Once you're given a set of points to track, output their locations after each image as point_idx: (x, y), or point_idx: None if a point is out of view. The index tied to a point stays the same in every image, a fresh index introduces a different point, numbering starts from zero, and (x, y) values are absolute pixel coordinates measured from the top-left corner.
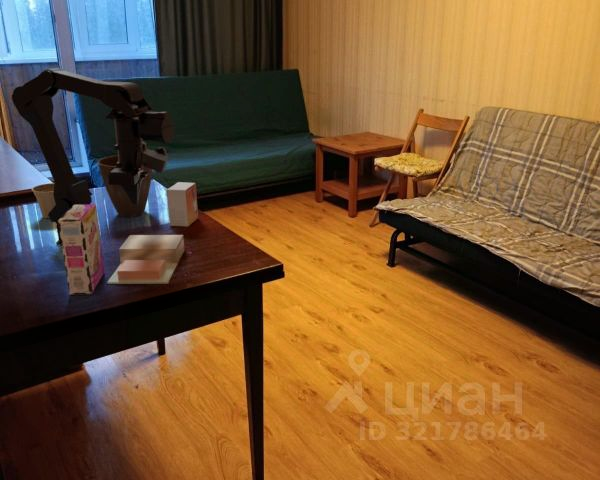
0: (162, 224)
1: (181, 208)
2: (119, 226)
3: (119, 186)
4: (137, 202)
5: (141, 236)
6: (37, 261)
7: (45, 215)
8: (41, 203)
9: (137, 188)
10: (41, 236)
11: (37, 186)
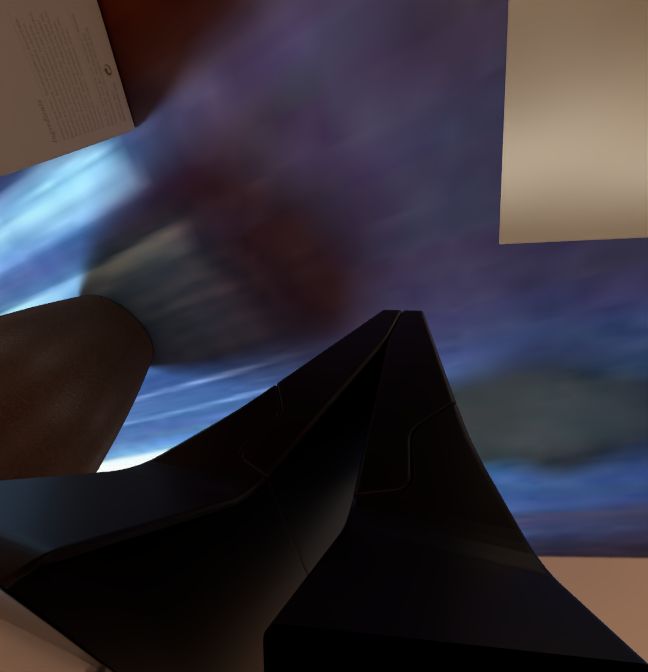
0: (139, 176)
1: (7, 44)
2: (229, 338)
3: (76, 441)
4: (409, 313)
5: (536, 149)
6: (596, 501)
7: None
8: None
9: (465, 459)
10: None
11: None
